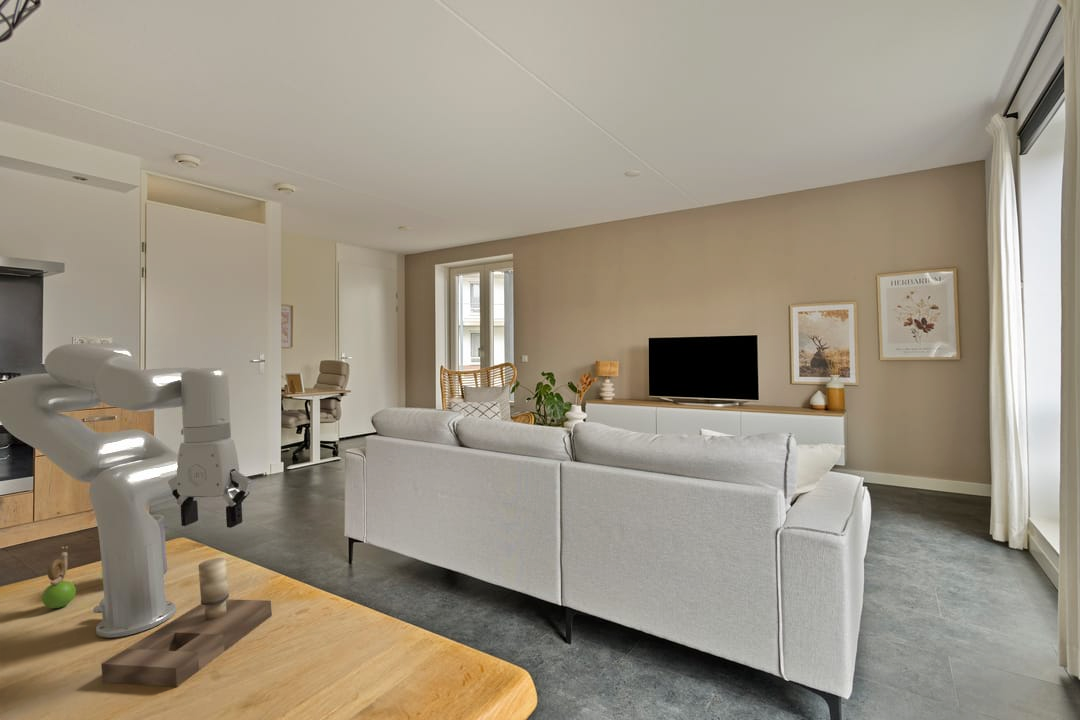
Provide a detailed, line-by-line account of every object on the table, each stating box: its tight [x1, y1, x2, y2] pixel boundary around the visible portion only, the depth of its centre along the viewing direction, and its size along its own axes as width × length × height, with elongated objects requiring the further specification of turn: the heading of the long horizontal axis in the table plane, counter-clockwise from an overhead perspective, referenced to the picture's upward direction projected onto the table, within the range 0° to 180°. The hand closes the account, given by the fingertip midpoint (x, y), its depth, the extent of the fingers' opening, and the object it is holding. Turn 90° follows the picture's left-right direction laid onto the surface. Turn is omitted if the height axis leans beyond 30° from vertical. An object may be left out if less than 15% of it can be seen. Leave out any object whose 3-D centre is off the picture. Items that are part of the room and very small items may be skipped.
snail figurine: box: [41, 546, 77, 609], centre depth 115 cm, size 5×6×12 cm
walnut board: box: [100, 598, 273, 688], centre depth 95 cm, size 14×22×3 cm, turn 170°
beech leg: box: [198, 557, 230, 620], centre depth 100 cm, size 4×4×10 cm
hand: (212, 524), depth 99 cm, fingers open, 9 cm apart
